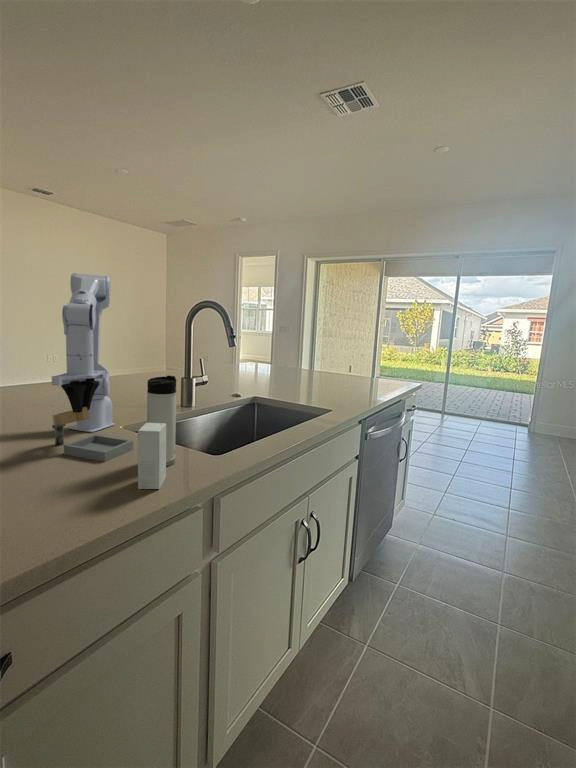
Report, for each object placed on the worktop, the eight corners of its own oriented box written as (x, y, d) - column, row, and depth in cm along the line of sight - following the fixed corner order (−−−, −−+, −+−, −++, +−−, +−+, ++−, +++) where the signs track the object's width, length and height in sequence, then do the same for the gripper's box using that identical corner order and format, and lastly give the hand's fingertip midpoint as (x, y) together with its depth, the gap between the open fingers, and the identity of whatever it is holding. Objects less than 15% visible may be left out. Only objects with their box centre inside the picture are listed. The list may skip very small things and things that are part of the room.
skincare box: (145, 477, 82) (145, 422, 80) (166, 478, 83) (167, 423, 81) (136, 490, 76) (137, 430, 74) (159, 490, 77) (160, 431, 75)
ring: (69, 420, 101) (67, 409, 100) (96, 416, 98) (94, 404, 98) (48, 426, 95) (45, 414, 94) (76, 422, 92) (73, 409, 92)
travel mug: (181, 460, 93) (183, 377, 90) (161, 469, 87) (163, 380, 84) (161, 455, 96) (162, 374, 92) (140, 463, 90) (141, 376, 86)
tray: (95, 442, 102) (95, 434, 101) (133, 448, 99) (133, 440, 99) (64, 454, 92) (63, 445, 92) (105, 461, 89) (104, 452, 89)
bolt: (61, 442, 100) (61, 422, 100) (67, 443, 100) (67, 422, 99) (51, 445, 97) (50, 424, 96) (57, 446, 97) (56, 425, 96)
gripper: (69, 358, 85) (70, 419, 87) (115, 354, 99) (115, 407, 101) (43, 355, 87) (45, 415, 89) (92, 352, 101) (92, 404, 103)
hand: (81, 411), depth 95 cm, fingers closed on ring, 2 cm apart
